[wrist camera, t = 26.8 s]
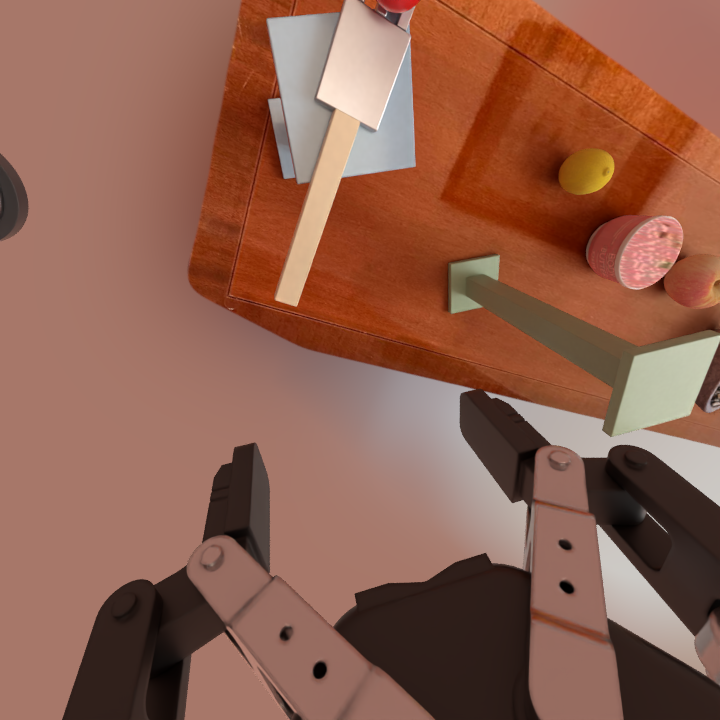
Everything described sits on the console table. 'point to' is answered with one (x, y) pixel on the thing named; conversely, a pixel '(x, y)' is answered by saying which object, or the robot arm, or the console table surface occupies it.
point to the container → (635, 249)
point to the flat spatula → (346, 116)
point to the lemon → (586, 171)
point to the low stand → (310, 119)
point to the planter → (711, 385)
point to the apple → (694, 281)
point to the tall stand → (595, 349)
